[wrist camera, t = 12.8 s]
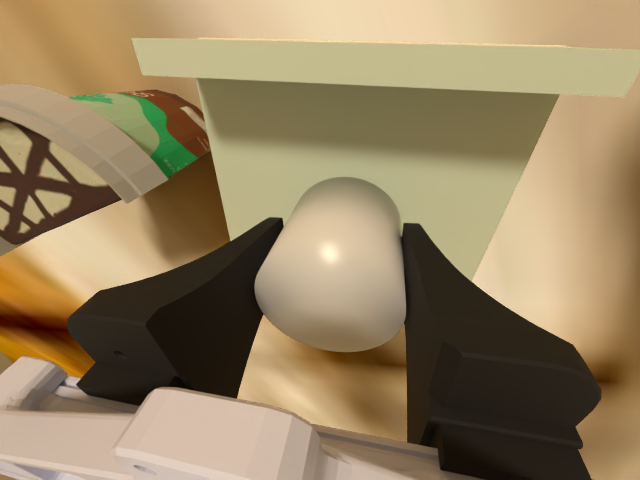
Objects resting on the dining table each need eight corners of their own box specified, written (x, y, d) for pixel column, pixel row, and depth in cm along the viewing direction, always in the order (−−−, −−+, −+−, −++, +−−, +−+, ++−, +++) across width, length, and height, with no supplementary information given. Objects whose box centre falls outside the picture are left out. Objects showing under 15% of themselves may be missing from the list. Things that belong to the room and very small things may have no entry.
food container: (187, 30, 16) (-13, 18, 8) (242, 133, 19) (136, 200, 11) (69, 112, 21) (-131, 157, 13) (128, 185, 24) (-5, 258, 16)
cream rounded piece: (424, 237, 13) (439, 327, 9) (340, 281, 16) (323, 364, 12) (352, 151, 11) (331, 214, 7) (273, 217, 14) (226, 288, 10)
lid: (569, 47, 10) (653, 49, 6) (449, 312, 18) (462, 368, 15) (197, 38, 12) (131, 38, 9) (245, 279, 20) (219, 322, 17)
